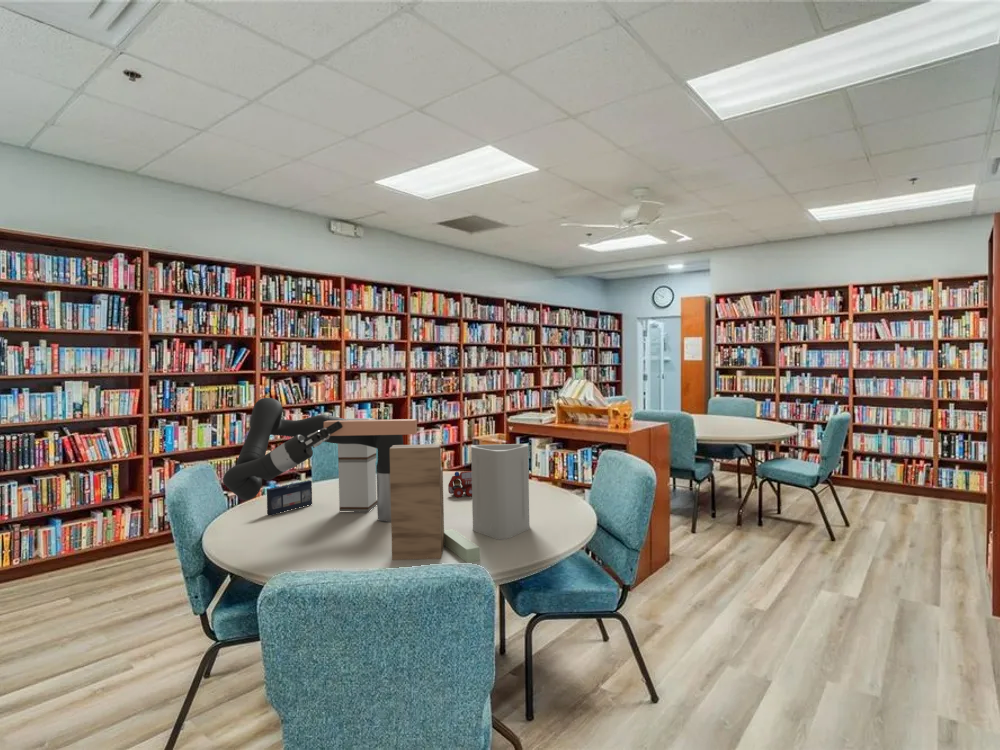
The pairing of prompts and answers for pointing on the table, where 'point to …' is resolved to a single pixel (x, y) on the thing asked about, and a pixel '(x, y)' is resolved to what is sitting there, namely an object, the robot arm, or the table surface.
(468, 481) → the toy fire truck
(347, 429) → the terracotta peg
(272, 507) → the vhs cassette tape
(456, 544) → the sage peg
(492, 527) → the grey triangular vase
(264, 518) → the table surface
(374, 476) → the banded white pillar
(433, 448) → the walnut stand
